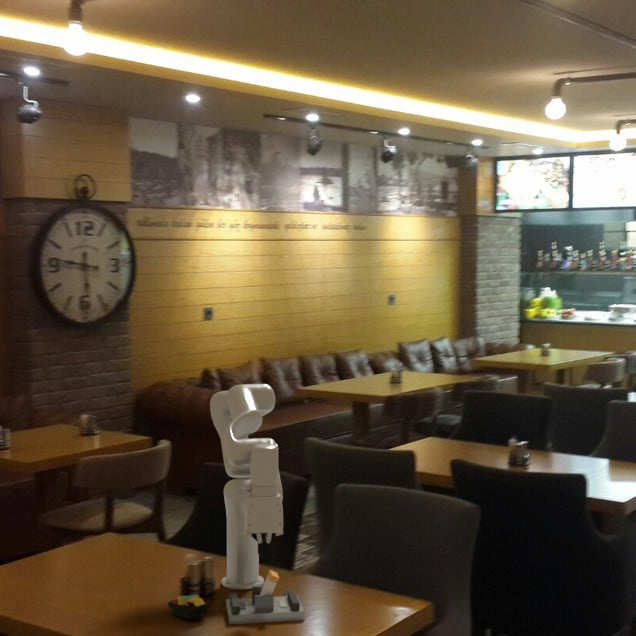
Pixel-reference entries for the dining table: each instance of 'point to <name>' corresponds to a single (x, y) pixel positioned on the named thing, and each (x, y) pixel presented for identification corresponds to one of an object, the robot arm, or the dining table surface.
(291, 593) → the pair of grey posts
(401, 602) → the dining table surface
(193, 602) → the black basket
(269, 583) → the lever
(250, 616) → the panel
